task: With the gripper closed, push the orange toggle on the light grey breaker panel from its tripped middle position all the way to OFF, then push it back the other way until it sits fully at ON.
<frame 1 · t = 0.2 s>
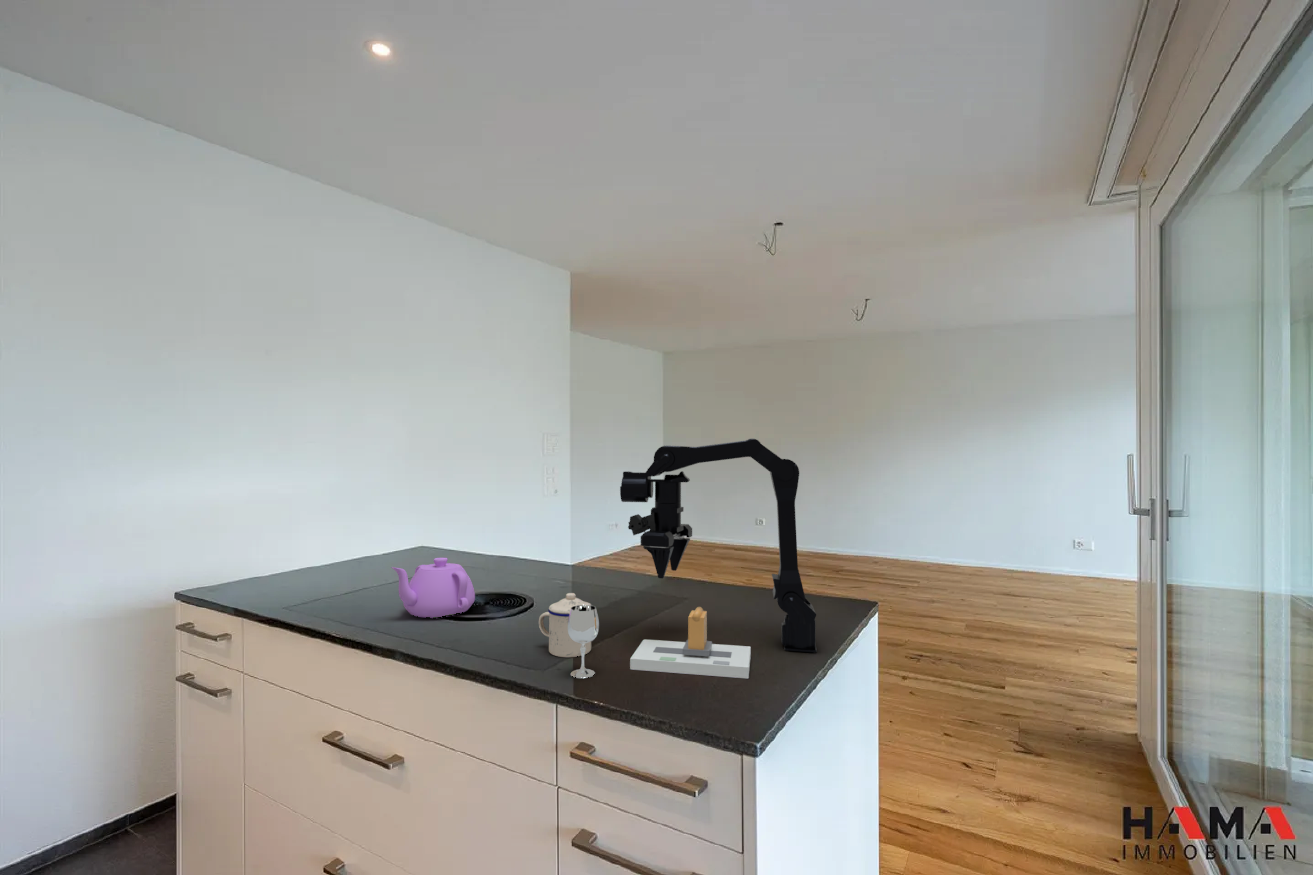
hand: (667, 574, 128), 14 cm above the counter, tool pointing down, fingers open, 9 cm apart
wineglass: (582, 674, 108), on the counter
teapot: (431, 615, 148), on the counter
toggle: (697, 630, 114), point 6 cm above the counter, slide at 5.0 cm
breaker panel: (692, 662, 114), on the counter
teacup with lid: (563, 650, 121), on the counter
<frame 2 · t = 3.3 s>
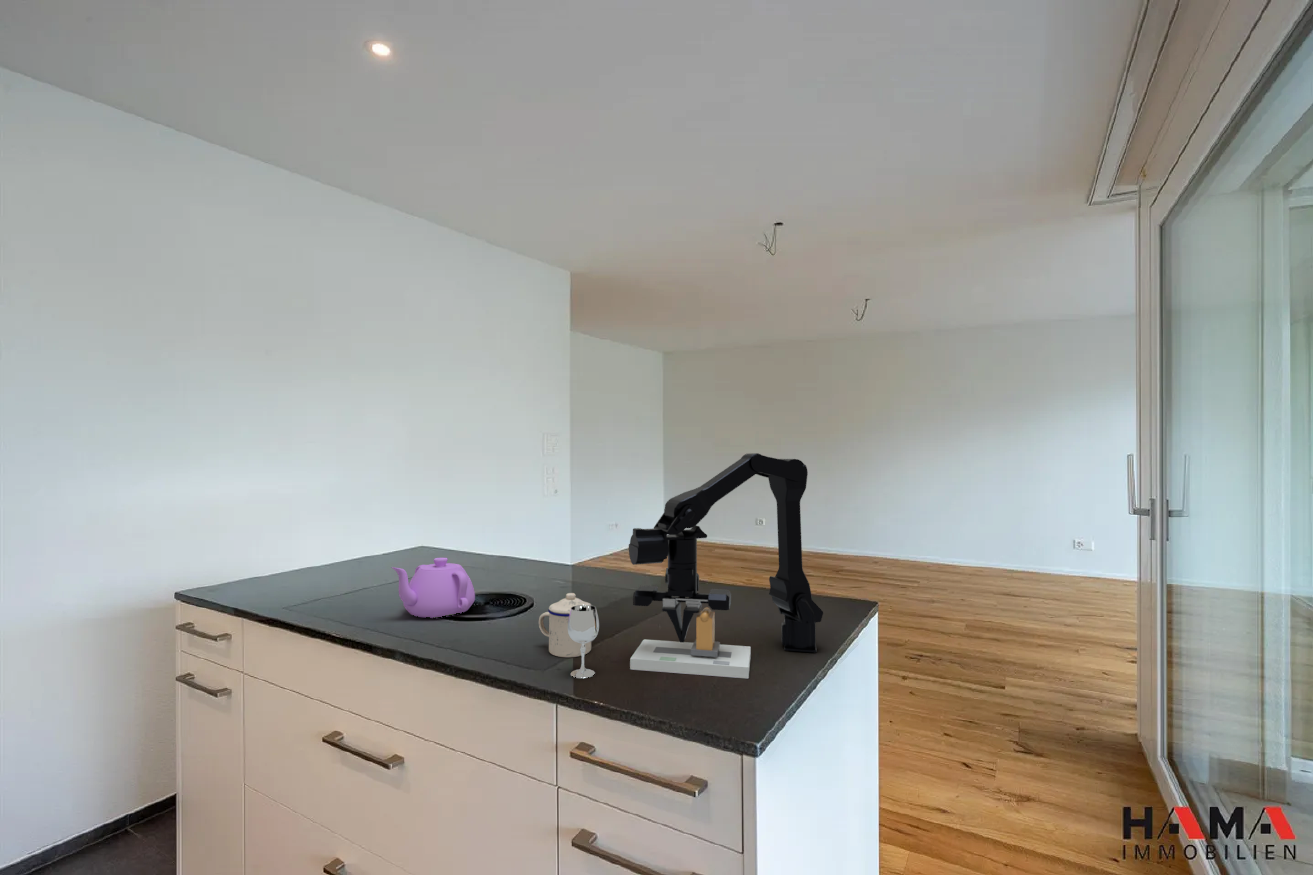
hand: (682, 641, 114), 4 cm above the counter, tool pointing down, fingers closed
toggle: (705, 630, 114), point 6 cm above the counter, slide at 3.4 cm, touching gripper
everything else where it was.
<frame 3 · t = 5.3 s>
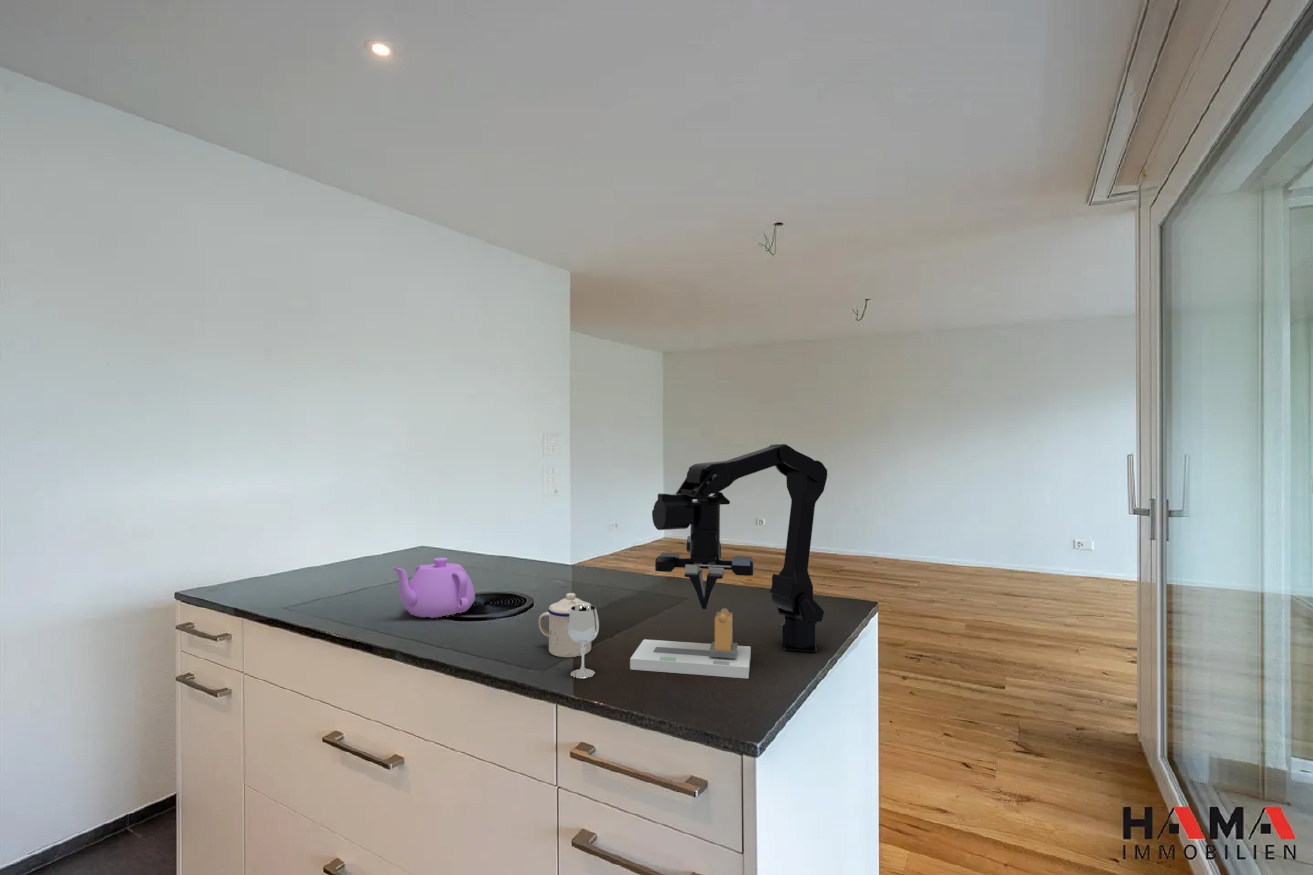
hand: (704, 608, 114), 11 cm above the counter, tool pointing down, fingers closed
toggle: (723, 631, 113), point 6 cm above the counter, slide at -0.1 cm
everything else where it was.
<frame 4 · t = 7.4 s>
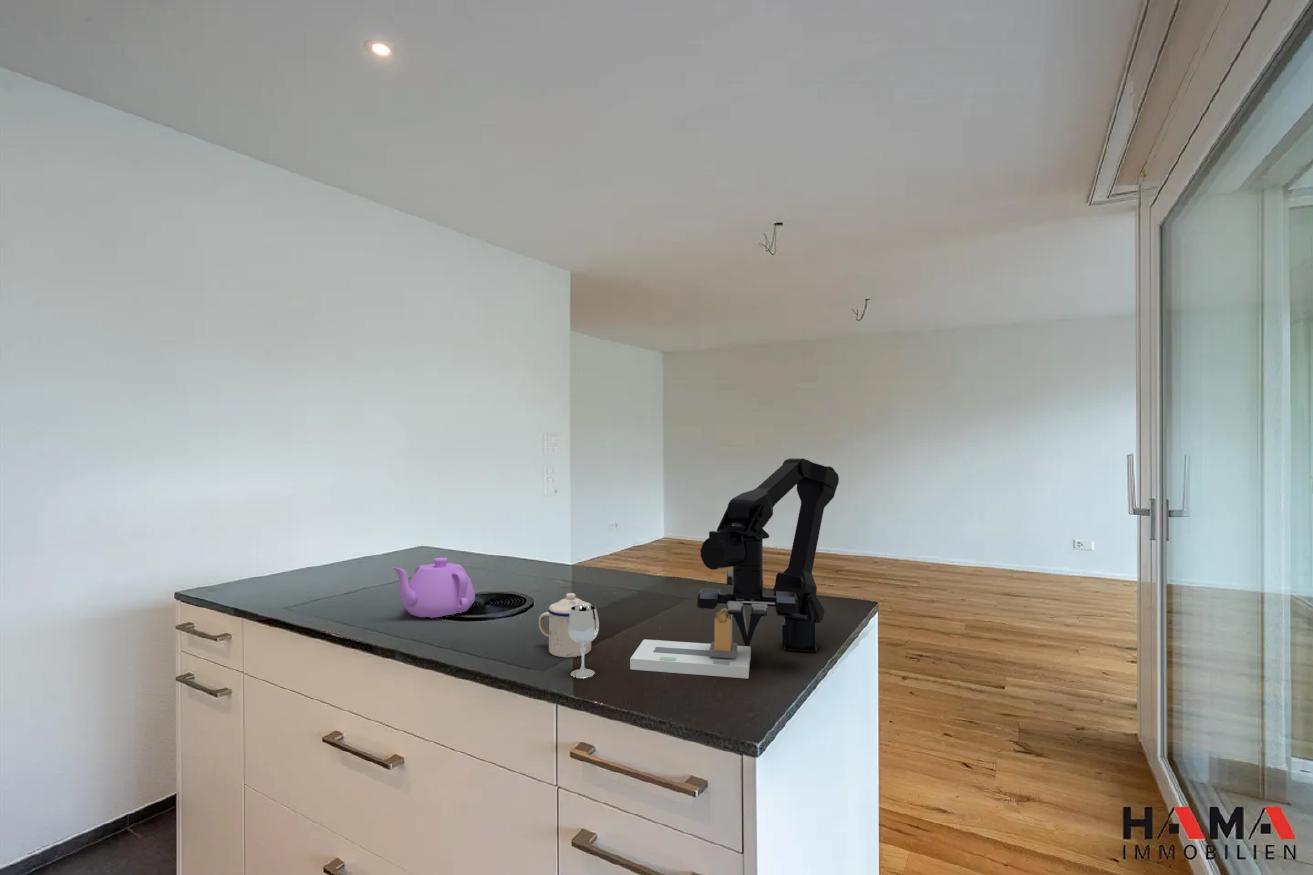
hand: (747, 645, 112), 4 cm above the counter, tool pointing down, fingers closed
toggle: (723, 631, 113), point 6 cm above the counter, slide at 0.0 cm, touching gripper
everything else where it was.
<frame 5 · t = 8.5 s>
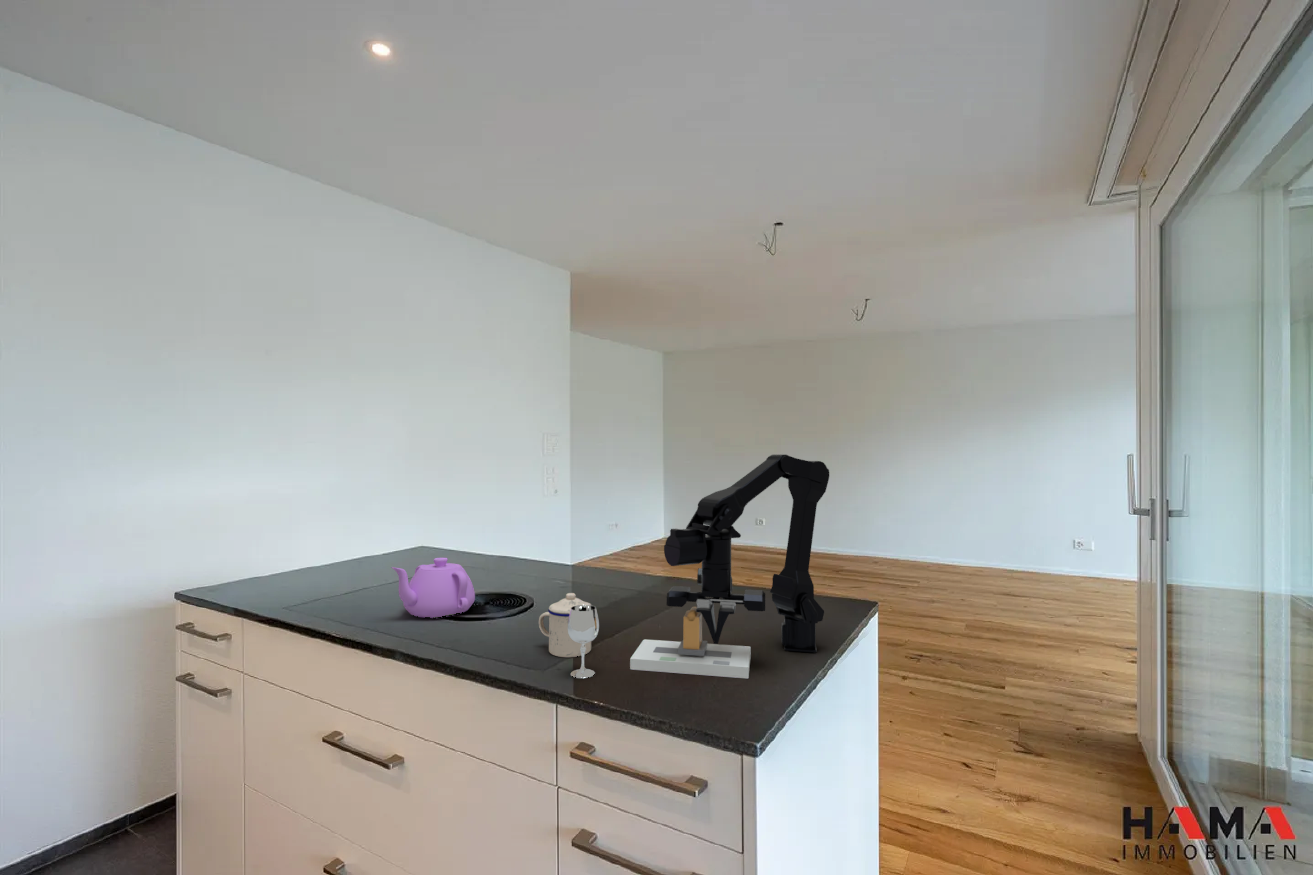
hand: (716, 643, 113), 4 cm above the counter, tool pointing down, fingers closed
toggle: (692, 629, 114), point 6 cm above the counter, slide at 5.9 cm, touching gripper
everything else where it was.
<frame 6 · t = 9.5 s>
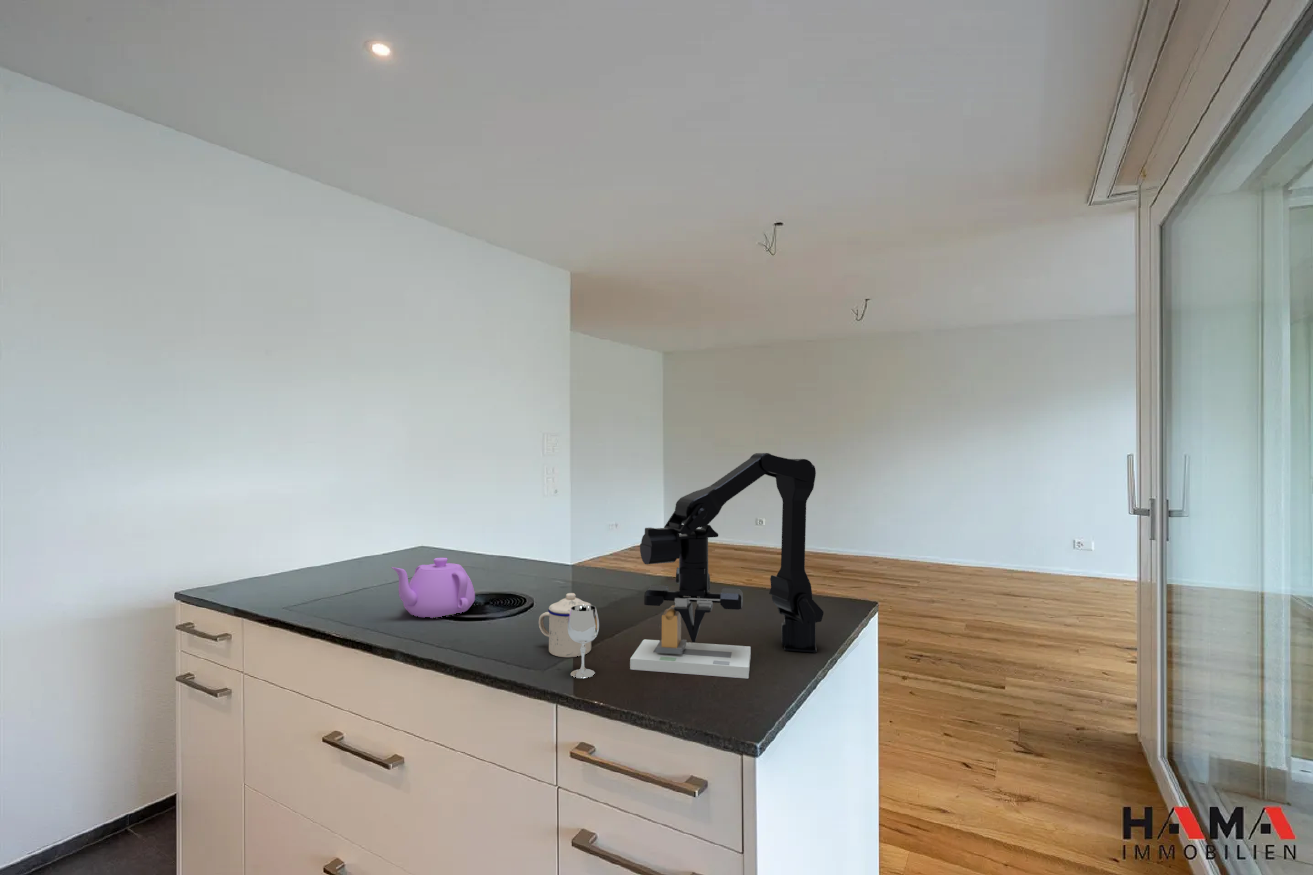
hand: (693, 641, 114), 4 cm above the counter, tool pointing down, fingers closed
toggle: (671, 628, 115), point 6 cm above the counter, slide at 10.2 cm, touching gripper
everything else where it was.
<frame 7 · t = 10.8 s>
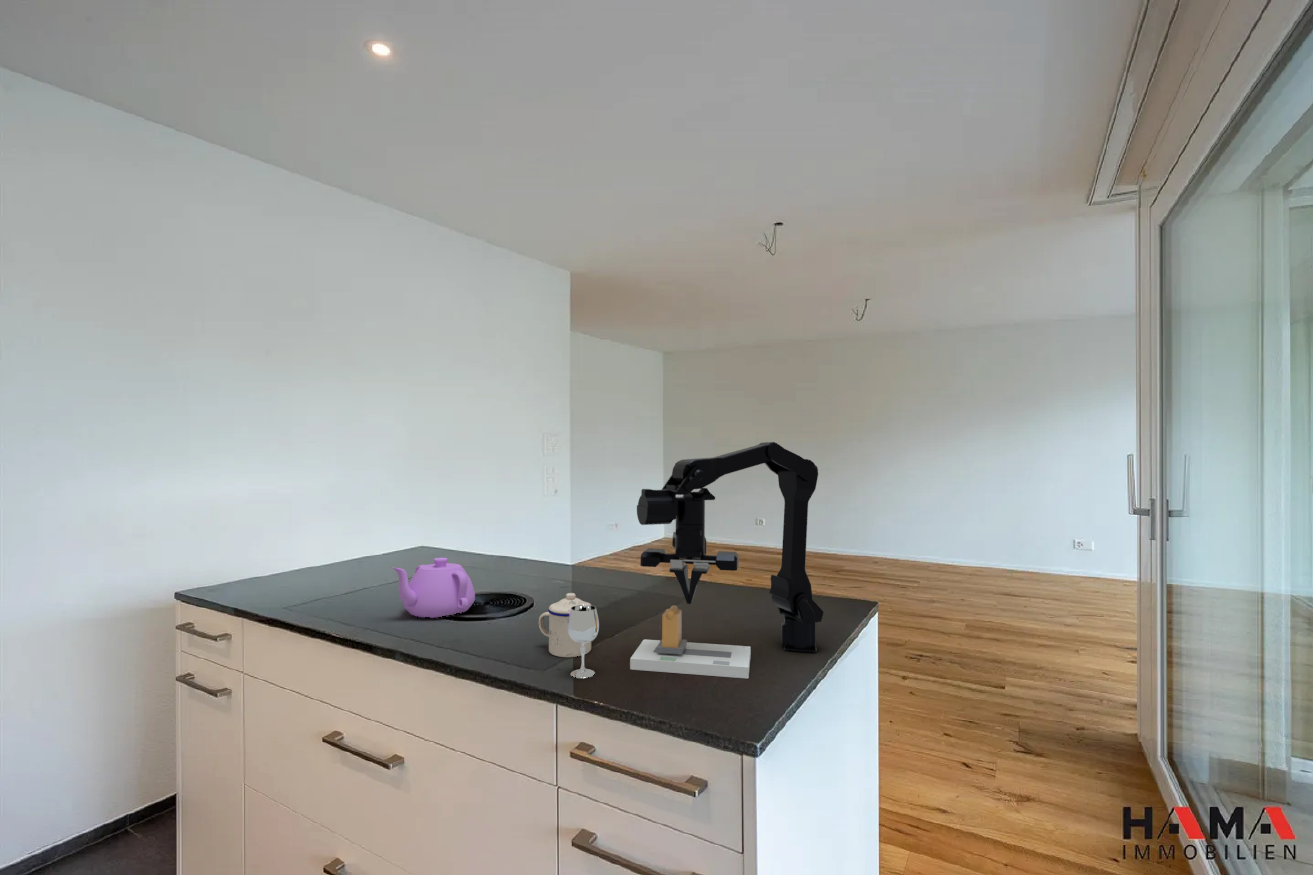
hand: (689, 603, 114), 11 cm above the counter, tool pointing down, fingers closed
toggle: (672, 628, 115), point 6 cm above the counter, slide at 10.1 cm
everything else where it was.
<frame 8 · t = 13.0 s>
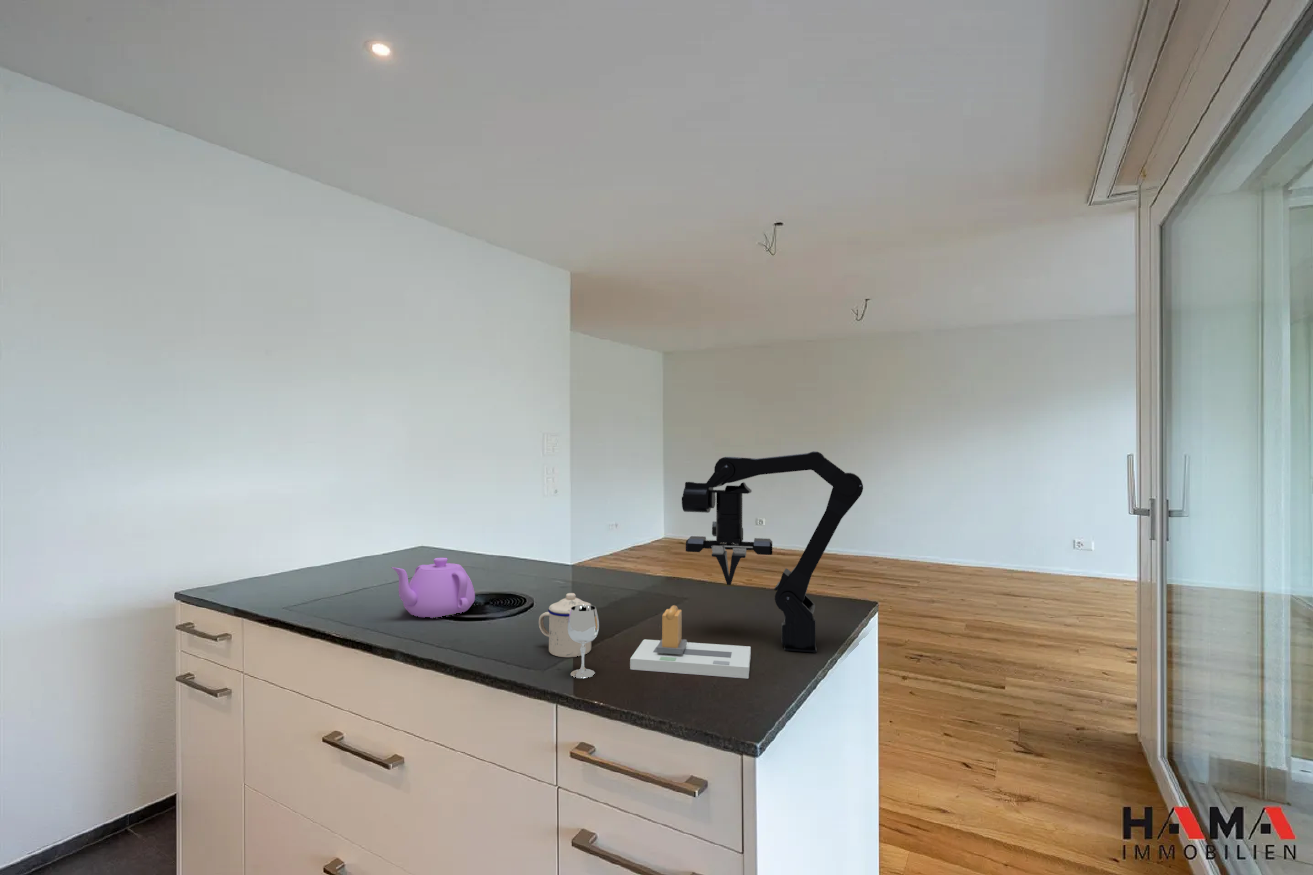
hand: (729, 584, 129), 12 cm above the counter, tool pointing down, fingers closed
nothing on the counter moved.
at the end: toggle slide at 10.1 cm; wineglass moved 0.2 cm from its start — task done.
